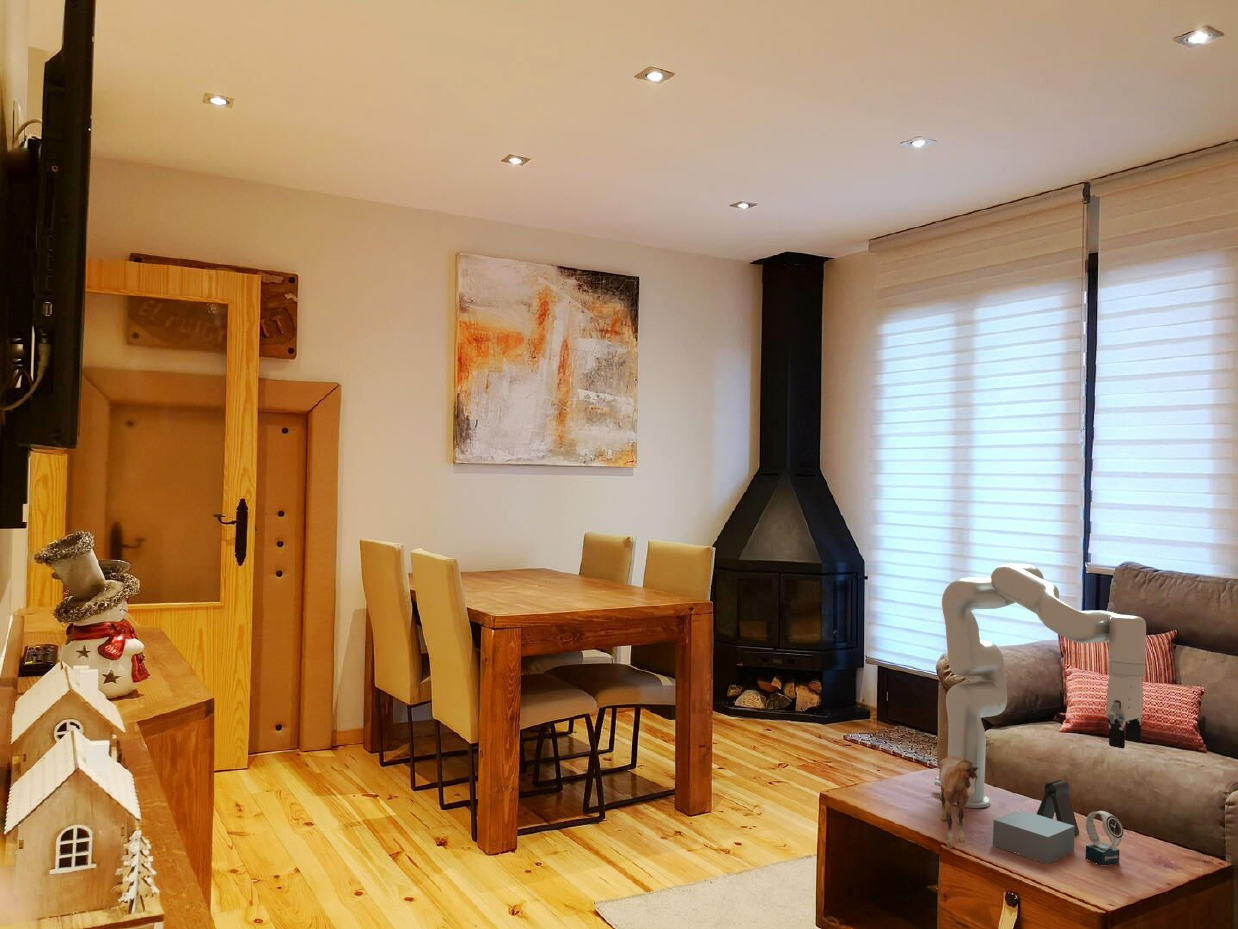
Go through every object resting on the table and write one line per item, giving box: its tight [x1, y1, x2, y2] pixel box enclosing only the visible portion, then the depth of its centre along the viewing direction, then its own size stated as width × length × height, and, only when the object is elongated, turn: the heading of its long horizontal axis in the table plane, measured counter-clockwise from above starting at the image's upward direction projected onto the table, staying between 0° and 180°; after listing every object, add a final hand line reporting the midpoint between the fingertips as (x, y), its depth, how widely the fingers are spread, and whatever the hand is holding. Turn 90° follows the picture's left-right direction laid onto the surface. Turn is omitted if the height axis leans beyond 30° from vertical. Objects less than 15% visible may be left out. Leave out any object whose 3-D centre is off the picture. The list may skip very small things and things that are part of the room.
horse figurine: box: [938, 756, 978, 849], centre depth 229 cm, size 31×8×21 cm, turn 162°
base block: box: [992, 809, 1075, 865], centre depth 221 cm, size 13×13×6 cm
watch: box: [1085, 810, 1124, 866], centre depth 215 cm, size 6×8×11 cm
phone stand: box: [1036, 779, 1080, 836], centre depth 234 cm, size 9×6×12 cm, turn 36°
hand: (1125, 744), depth 217 cm, fingers open, 9 cm apart
